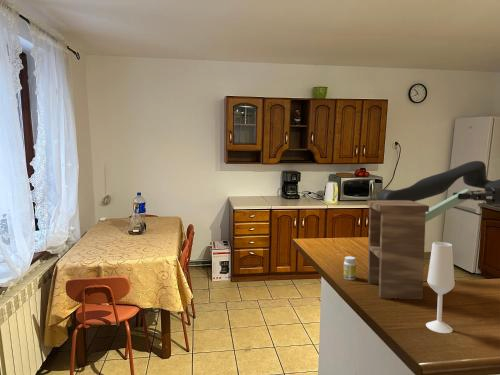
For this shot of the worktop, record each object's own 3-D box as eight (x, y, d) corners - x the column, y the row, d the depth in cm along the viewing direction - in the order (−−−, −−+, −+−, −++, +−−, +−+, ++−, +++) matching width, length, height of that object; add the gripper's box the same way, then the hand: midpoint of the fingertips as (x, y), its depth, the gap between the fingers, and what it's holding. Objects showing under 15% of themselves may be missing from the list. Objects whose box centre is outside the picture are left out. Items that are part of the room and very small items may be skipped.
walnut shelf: (365, 281, 133) (366, 200, 131) (407, 282, 132) (409, 200, 130) (377, 298, 117) (379, 205, 115) (425, 299, 116) (428, 205, 114)
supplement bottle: (356, 276, 139) (356, 256, 138) (355, 280, 135) (356, 259, 134) (343, 275, 141) (344, 255, 140) (343, 279, 136) (343, 258, 136)
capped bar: (404, 229, 140) (399, 221, 140) (468, 195, 137) (463, 186, 137) (408, 232, 136) (403, 223, 135) (474, 196, 133) (469, 187, 133)
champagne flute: (430, 319, 102) (433, 239, 100) (456, 327, 97) (459, 243, 95) (421, 327, 97) (424, 243, 95) (448, 335, 92) (451, 248, 90)
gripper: (490, 184, 141) (447, 185, 142) (514, 187, 127) (466, 187, 128) (489, 202, 141) (446, 203, 143) (513, 207, 127) (465, 207, 129)
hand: (456, 195), depth 135 cm, fingers closed on capped bar, 3 cm apart
